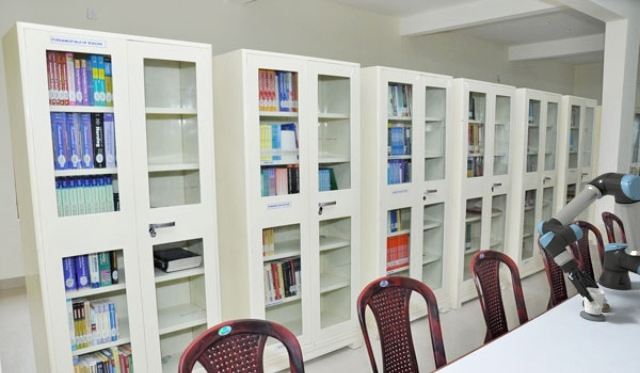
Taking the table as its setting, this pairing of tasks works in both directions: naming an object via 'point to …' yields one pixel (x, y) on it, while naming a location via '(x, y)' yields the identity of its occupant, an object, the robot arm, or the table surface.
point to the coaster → (592, 316)
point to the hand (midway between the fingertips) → (601, 305)
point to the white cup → (598, 296)
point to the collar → (604, 309)
